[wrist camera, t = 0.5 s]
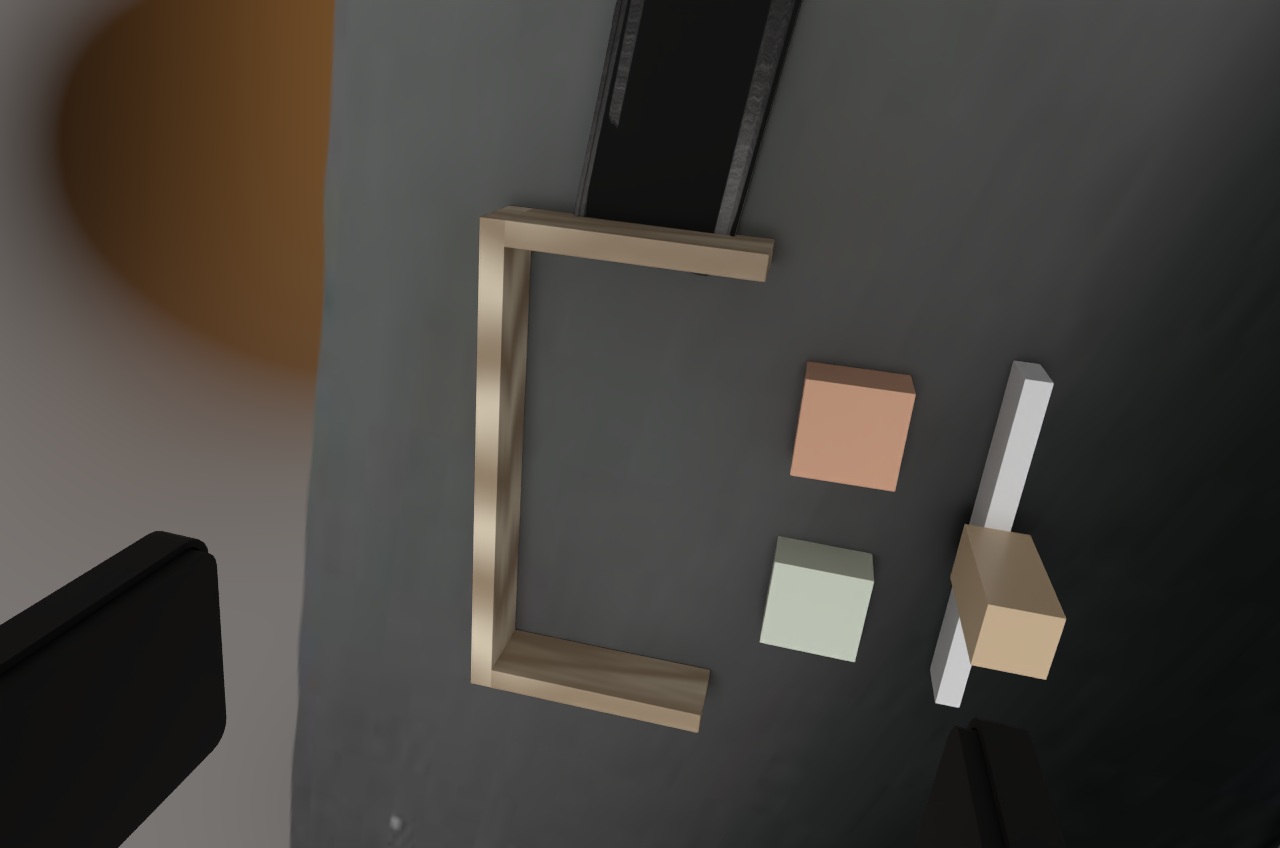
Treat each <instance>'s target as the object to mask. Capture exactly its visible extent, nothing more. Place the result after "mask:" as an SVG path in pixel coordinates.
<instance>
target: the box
mask: <svg viewBox="0 0 1280 848" xmlns="http://www.w3.org/2000/svg"><path fill="white" fill-rule="evenodd" d="M774 241H775V239H768V238H760V237H752V236H744V235H735V237H732V236H728V235H720V234H713V233H705V232H697V231H689V230H681V229H673V228H666V227H658V226H650V225H642V224H634V223H627V222H619V221H611V220H603V219H595V218H587V217H580V216H579V217H576V216H574V214H572V213H564V212H557V211H549V210H541V209H533V208H525V207H517V206H507V207H505V208H502V209H500V210H497V211H494V212H492V213H489V214H487V215H484V216H481V217H480V239H479V291H478V343H477V395H476V447H475V499H474V551H473V603H472V655H471V683H473V684H478V685H483V686H487V687H492V688H496V689H501V690H505V691H510V692H514V693H519V694H524V695H528V696H533V697H537V698H542V699H546V700H551V701H555V702H560V703H565V704H569V705H574V706H578V707H583V708H587V709H592V710H597V711H601V712H606V713H610V714H615V715H619V716H624V717H628V718H633V719H638V720H642V721H647V722H651V723H656V724H660V725H665V726H670V727H674V728H679V729H683V730H688V731H692V732H697V733H698V731H699V726H700V721H701V716H702V712H703V707H704V702H705V697H706V693H707V688H708V682H709V675H710V670H708V669H703V668H698V667H693V666H689V665H684V664H679V663H674V662H669V661H664V660H660V659H655V658H650V657H645V656H640V655H636V654H631V653H626V652H621V651H616V650H611V649H607V648H602V647H597V646H592V645H587V644H583V643H578V642H573V641H568V640H563V639H558V638H554V637H549V636H544V635H539V634H534V633H529V632H525V631H520V630H515V620H516V596H517V572H518V549H519V525H520V501H521V478H522V454H523V431H524V407H525V383H526V360H527V336H528V312H529V289H530V265H531V250H532V251H539V252H547V253H554V254H561V255H569V256H576V257H584V258H591V259H598V260H606V261H613V262H620V263H628V264H635V265H643V266H650V267H657V268H665V269H672V270H679V271H687V272H694V273H701V274H709V275H716V276H724V277H731V278H738V279H746V280H753V281H760V282H765V280H766V278H767V275H768V272H769V269H770V266H771V261H772V255H773V248H774Z"/></svg>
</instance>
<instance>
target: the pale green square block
mask: <svg viewBox="0 0 1280 848" xmlns="http://www.w3.org/2000/svg"><path fill="white" fill-rule="evenodd" d="M873 584H874V573H873V560H872V554H870V553H865V552H859V551H854V550H849V549H844V548H838V547H833V546H828V545H823V544H817V543H812V542H807V541H802V540H797V539H791V538H786V537H781V536H778V539H777V544H776V550H775V555H774V560H773V566H772V571H771V576H770V582H769V587H768V592H767V598H766V603H765V609H764V614H763V621H762V629H761V636H760V642H761V643H765V644H770V645H775V646H780V647H784V648H789V649H794V650H799V651H803V652H808V653H813V654H818V655H822V656H827V657H832V658H837V659H841V660H846V661H851V662H855V658H856V654H857V650H858V646H859V642H860V638H861V634H862V630H863V625H864V621H865V617H866V613H867V609H868V605H869V601H870V597H871V592H872V588H873Z"/></svg>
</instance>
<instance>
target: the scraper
mask: <svg viewBox="0 0 1280 848" xmlns="http://www.w3.org/2000/svg"><path fill="white" fill-rule="evenodd" d="M1053 384H1054V383H1053V381H1052V380H1051V379H1050V377H1049V376H1048V375H1047V373H1046V372H1045V370H1044V369H1043V368H1042V366H1041V365H1040V364H1035V363H1028V362H1021V361H1014V360H1013V364H1012V368H1011V371H1010V375H1009V379H1008V383H1007V386H1006V390H1005V394H1004V397H1003V401H1002V405H1001V409H1000V412H999V416H998V420H997V423H996V427H995V431H994V434H993V438H992V442H991V446H990V449H989V453H988V457H987V460H986V464H985V468H984V471H983V475H982V479H981V483H980V486H979V490H978V494H977V497H976V501H975V505H974V508H973V512H972V516H971V520H970V523H969V524H964V528H963V532H962V536H961V539H960V543H959V547H958V551H957V554H956V558H955V562H954V565H953V569H952V573H951V577H950V578H951V582H952V590H951V594H950V597H949V601H948V605H947V608H946V612H945V616H944V619H943V623H942V627H941V631H940V634H939V638H938V642H937V645H936V649H935V653H934V657H933V660H932V664H931V668H930V673H931V679H932V685H933V691H934V698H935V703H938V704H943V705H948V706H953V707H958V708H959V706H960V703H961V699H962V696H963V693H964V689H965V686H966V682H967V679H968V676H969V672H970V669H971V665H974V666H979V667H984V668H989V669H995V670H1000V671H1005V672H1010V673H1015V674H1020V675H1025V676H1030V677H1035V678H1040V679H1045V680H1046V678H1047V675H1048V672H1049V669H1050V666H1051V663H1052V660H1053V657H1054V654H1055V651H1056V648H1057V645H1058V642H1059V639H1060V636H1061V633H1062V630H1063V627H1064V624H1065V621H1066V617H1065V615H1064V612H1063V610H1062V608H1061V605H1060V603H1059V601H1058V598H1057V596H1056V594H1055V591H1054V589H1053V587H1052V584H1051V582H1050V580H1049V577H1048V575H1047V573H1046V571H1045V568H1044V566H1043V564H1042V561H1041V559H1040V557H1039V554H1038V552H1037V550H1036V547H1035V545H1034V543H1033V540H1032V538H1031V536H1030V535H1026V534H1021V533H1015V532H1011V528H1012V525H1013V521H1014V518H1015V515H1016V511H1017V508H1018V504H1019V501H1020V497H1021V494H1022V491H1023V487H1024V484H1025V480H1026V477H1027V473H1028V470H1029V467H1030V463H1031V460H1032V456H1033V453H1034V449H1035V446H1036V443H1037V439H1038V436H1039V432H1040V429H1041V426H1042V422H1043V419H1044V415H1045V412H1046V408H1047V405H1048V402H1049V398H1050V395H1051V391H1052V388H1053Z"/></svg>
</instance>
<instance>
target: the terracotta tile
mask: <svg viewBox="0 0 1280 848" xmlns="http://www.w3.org/2000/svg"><path fill="white" fill-rule="evenodd" d="M915 395H916V393H915V390H914V386H913V382H912V378H911V375H904V374H897V373H890V372H882V371H875V370H868V369H860V368H853V367H846V366H839V365H831V364H824V363H817V362H809V361H807V366H806V373H805V379H804V385H803V391H802V397H801V404H800V410H799V416H798V422H797V429H796V435H795V441H794V447H793V454H792V463H791V472H790V475H792V476H799V477H805V478H811V479H818V480H824V481H830V482H837V483H843V484H849V485H856V486H862V487H868V488H875V489H881V490H887V491H894V492H895V489H896V484H897V479H898V475H899V470H900V465H901V461H902V456H903V451H904V447H905V442H906V437H907V433H908V428H909V423H910V419H911V414H912V409H913V405H914V400H915Z"/></svg>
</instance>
